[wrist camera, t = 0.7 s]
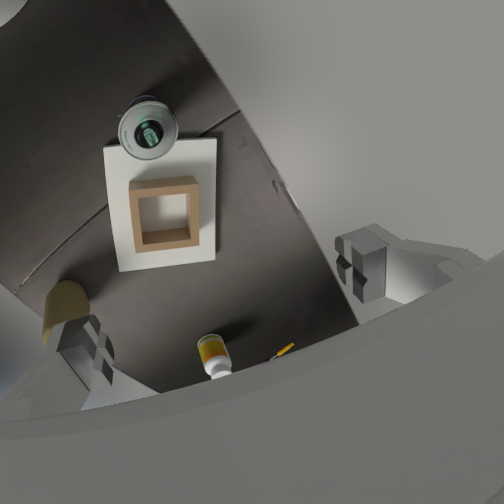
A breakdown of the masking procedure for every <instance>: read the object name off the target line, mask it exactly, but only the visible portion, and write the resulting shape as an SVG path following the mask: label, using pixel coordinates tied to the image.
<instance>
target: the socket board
mask: <svg viewBox="0 0 504 504" xmlns="http://www.w3.org/2000/svg"><path fill="white" fill-rule="evenodd" d="M216 148H217V139H216V138H215V137H206V138H185V139H177V140H176V142H175V144H174V146H173V148H172V149H171V150H170V151H169V152H168V153H167V154H166V155H164V156H163V157H161V158H159V159H156V160H152V161H142V160H137V159H135V158H133V157H131V156H130V155H128V154H127V153H126V152H125V150H124V149H123V147H122V145H121V144H116V145H107V146H104V148H103V149H104V162H105V173H106V183H107V192H108V201H109V209H110V216H111V224H112V230H113V237H114V243H115V249H116V255H117V261H118V266H119V272H123V271H131V270H139V269H147V268H155V267H163V266H170V265H178V264H186V263H194V262H202V261H209V260H215V195H216Z"/></svg>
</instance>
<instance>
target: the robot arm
mask: <svg viewBox="0 0 504 504" xmlns="http://www.w3.org/2000/svg"><path fill="white" fill-rule="evenodd" d="M27 1H28V0H0V27H1V26H2V25H4V24H5V23H7V22H8V21H9V20H10V19H12V18H13V17H14V16H15V15H16V14H17V13H18V12H19V11H20V10H21V9H22V7H23V6H24V5H25V4H26V2H27ZM335 250H336V251H337V252H338V253H339V256H338V258H337V261H336V264H337V271H338V274H339V277H340V279H341V280H342V282H343V283H344V284H345V285H346V286H347V287H351V288H353V294H354V295H355V296H356V297H357V298H358V299H359V300H360V301H361V302H362V303H363V304H365V303H368V302H370V301H373V300H375V299H378V298H380V297H383V296H386V297H388V298H390V299H393V300H396V301H398V302H401V303H404V304H405V305H403V306H401V307H399V308H397V309H395V310H393V311H390V312H388V313H386V314H384V315H382V316H380V317H377V318H375V319H373V320H371V321H369V322H366V323H364V324H362V325H359V326H357V327H355V328H352V329H350V330H348V331H345V332H343V333H341V334H338V335H336V336H333V337H331V338H329V339H326V340H324V341H321V342H319V343H316V344H314V345H311V346H308V347H306V348H303V349H301V350H298V351H295V352H293V353H290V354H287V355H284V356H282V357H279V358H276V359H273V360H271V361H268V362H265V363H262V364H259V365H256V366H253V367H250V368H247V369H244V370H241V371H238V372H235V373H232V374H228V375H225V376H222V377H219V378H216V379H212V380H209V381H205V382H202V383H199V384H195V385H192V386H188V387H184V388H181V389H177V390H173V391H169V392H166V393H162V394H158V395H154V396H150V397H146V398H141V399H137V400H133V401H128V402H124V403H119V404H114V405H109V406H104V407H99V408H94V409H89V410H83V411H80V410H81V408H82V407H83V405H84V403H85V401H86V399H87V398H88V396H89V394H90V392H91V391H95V390H99V389H103V388H107V387H111V386H112V377H113V370H112V369H111V367H110V366H111V365H112V363H113V362H114V350H113V346H112V343H111V341H110V339H109V337H108V336H107V334H105V333H103V332H102V331H100V325H101V324H100V322H99V321H98V319H97V317H96V316H95V315H93V314H91V315H87V316H84V317H80V318H76V319H73V320H69V321H65V322H62V323H59V324H56V325H54V326H53V329H52V332H51V334H50V337H49V340H48V343H47V346H46V348H45V351H44V355H43V356H40V357H39V358H38V359H37V360H36V361H35V362H34V363H33V364H32V365H31V366H30V367H29V369H28V370H27V371H26V372H25V373H24V374H23V375H22V376H21V377H20V378H19V379H18V380H17V382H16V383H15V384H14V385H13V386H12V387H11V388H10V389H9V391H7V393H6V394H5V395H4V396H3V397H2V398H1V400H0V504H504V251H502V252H500V253H499V254H497V255H495V256H494V257H492V258H491V259H489V260H487V261H484V260H483V259H481V258H480V257H478V256H477V255H475V254H473V253H472V252H470V251H468V250H467V249H463V248H457V247H451V246H444V245H438V244H432V243H426V242H419V241H413V240H407V239H406V240H403V241H402V240H401V239H399V238H398V237H396V236H395V235H393V234H392V233H390V232H388V231H387V230H385V229H383V228H382V227H381V226H379V225H377V224H371V225H368V226H366V227H363V228H360V229H357V230H355V231H352V232H349V233H346V234H344V235H341V236H338V237H336V238H335Z"/></svg>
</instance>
